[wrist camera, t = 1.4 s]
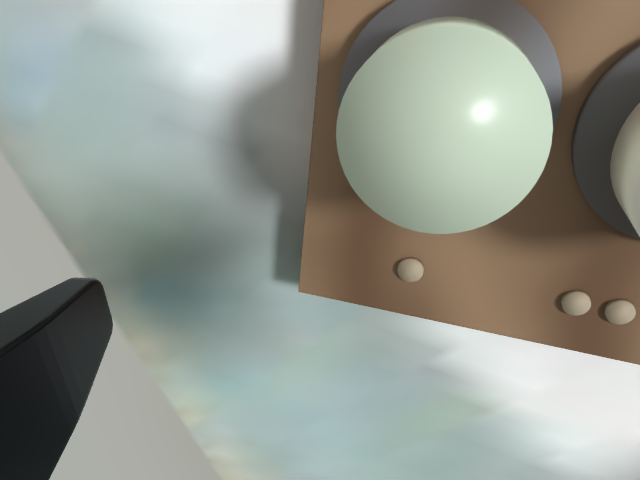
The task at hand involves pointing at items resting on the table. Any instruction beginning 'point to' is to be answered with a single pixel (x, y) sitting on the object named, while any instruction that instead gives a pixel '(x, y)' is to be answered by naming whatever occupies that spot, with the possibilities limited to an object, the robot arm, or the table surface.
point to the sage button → (444, 126)
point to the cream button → (628, 168)
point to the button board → (519, 223)
